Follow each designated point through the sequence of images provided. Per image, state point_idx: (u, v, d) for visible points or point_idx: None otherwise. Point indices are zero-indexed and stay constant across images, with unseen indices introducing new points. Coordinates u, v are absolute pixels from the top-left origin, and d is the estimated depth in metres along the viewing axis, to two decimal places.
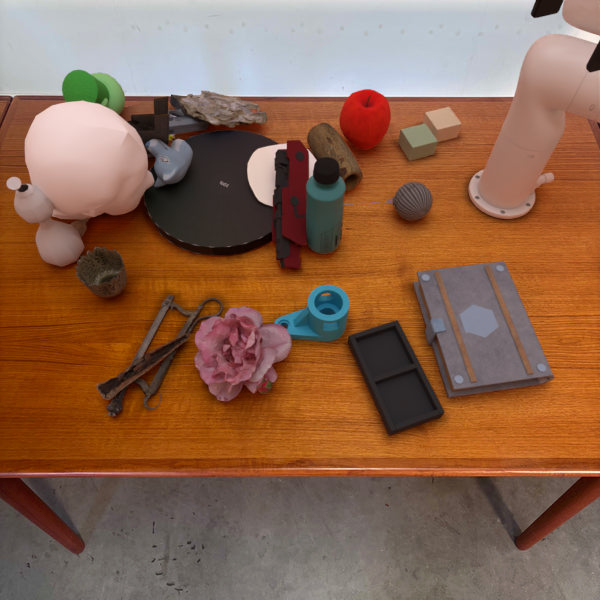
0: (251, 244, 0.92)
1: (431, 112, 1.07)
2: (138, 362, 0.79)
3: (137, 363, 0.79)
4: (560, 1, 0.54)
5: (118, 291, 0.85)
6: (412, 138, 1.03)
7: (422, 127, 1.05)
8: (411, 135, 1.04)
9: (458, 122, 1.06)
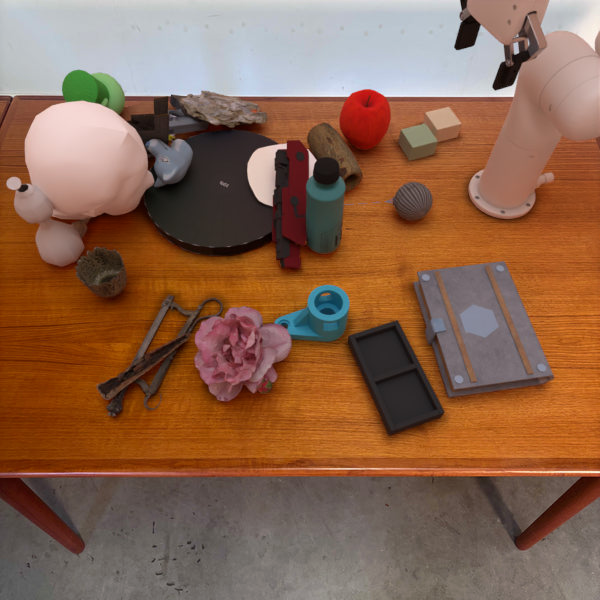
0: (251, 244, 0.92)
1: (431, 112, 1.07)
2: (138, 362, 0.79)
3: (137, 363, 0.79)
4: (474, 37, 0.74)
5: (118, 291, 0.85)
6: (412, 138, 1.03)
7: (422, 127, 1.05)
8: (411, 135, 1.04)
9: (458, 122, 1.06)
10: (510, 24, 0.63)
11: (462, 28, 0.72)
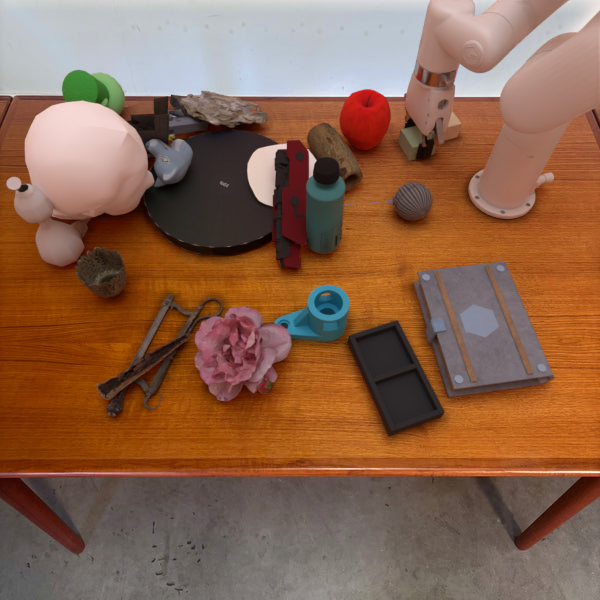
0: (251, 244, 0.92)
1: None
2: (138, 362, 0.79)
3: (137, 363, 0.79)
4: None
5: (118, 291, 0.85)
6: (412, 138, 1.03)
7: None
8: (411, 135, 1.04)
9: (458, 122, 1.06)
10: (426, 123, 0.96)
11: (406, 127, 1.05)
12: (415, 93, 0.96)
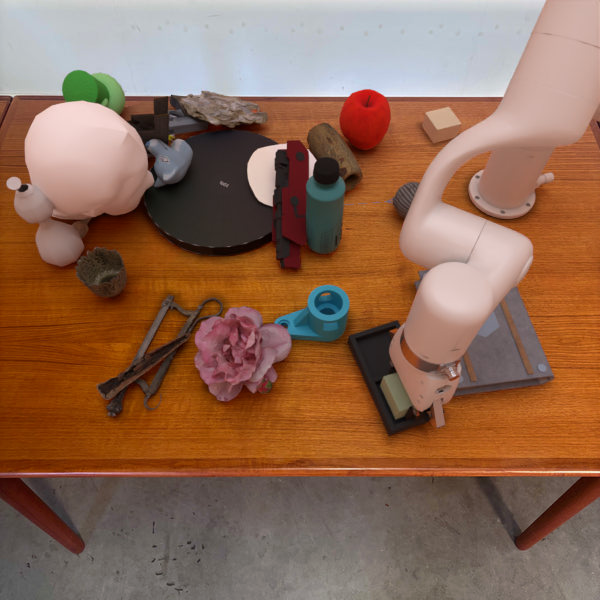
0: (251, 244, 0.92)
1: (431, 112, 1.07)
2: (138, 362, 0.79)
3: (137, 363, 0.79)
4: None
5: (118, 291, 0.85)
6: (399, 394, 0.73)
7: None
8: (397, 388, 0.74)
9: (458, 122, 1.06)
10: (419, 401, 0.66)
11: (391, 372, 0.75)
12: (403, 358, 0.66)
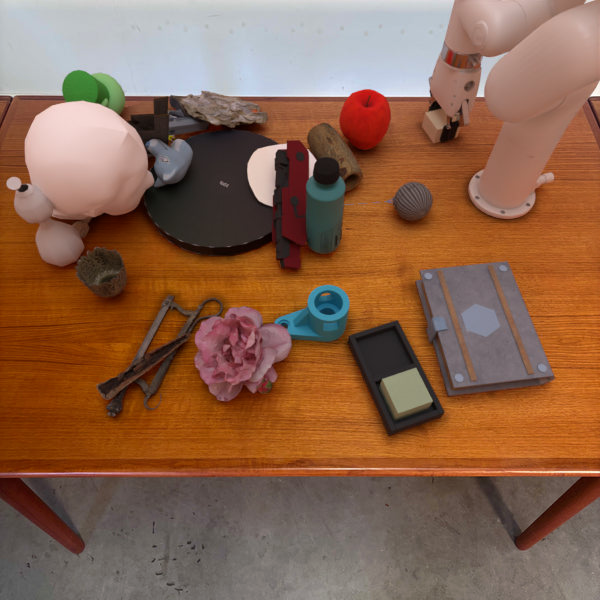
0: (251, 244, 0.92)
1: (431, 112, 1.07)
2: (138, 362, 0.79)
3: (137, 363, 0.79)
4: None
5: (118, 291, 0.85)
6: (398, 396, 0.75)
7: (412, 375, 0.76)
8: (396, 390, 0.75)
9: None
10: (452, 105, 0.99)
11: (430, 110, 1.08)
12: (441, 75, 0.98)
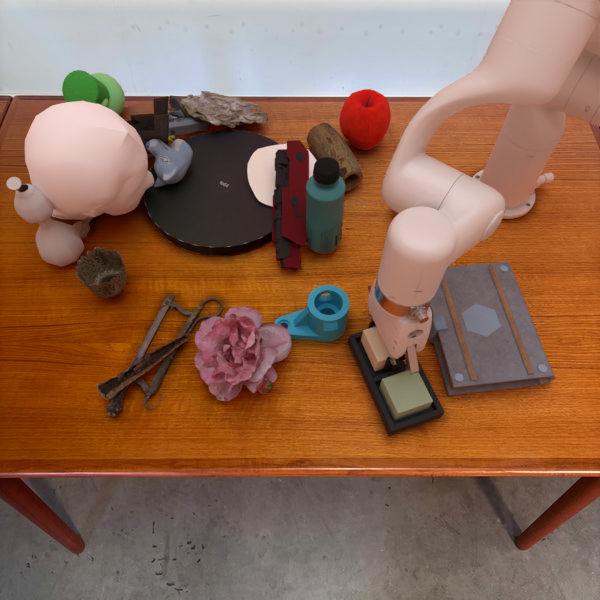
0: (251, 244, 0.92)
1: (371, 330, 0.79)
2: (138, 362, 0.79)
3: (137, 363, 0.79)
4: None
5: (118, 291, 0.85)
6: (398, 396, 0.75)
7: (412, 375, 0.76)
8: (396, 390, 0.75)
9: None
10: (394, 348, 0.70)
11: (371, 326, 0.79)
12: (378, 307, 0.69)
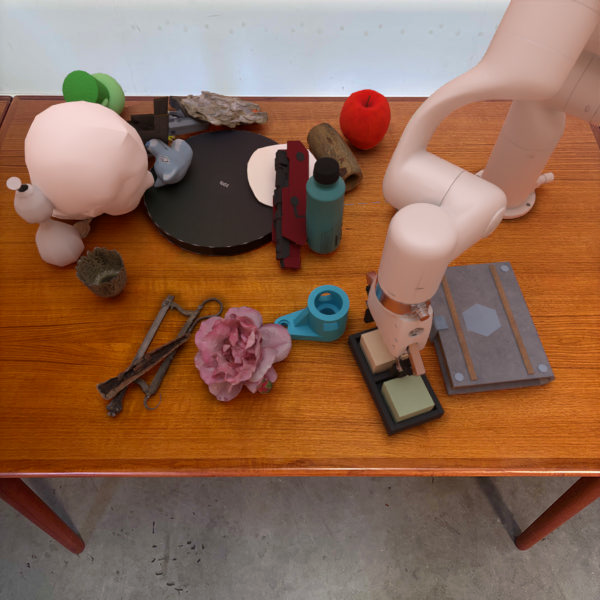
0: (251, 244, 0.92)
1: (370, 334, 0.80)
2: (138, 362, 0.79)
3: (137, 363, 0.79)
4: None
5: (118, 291, 0.85)
6: (399, 399, 0.74)
7: (413, 378, 0.76)
8: (397, 394, 0.75)
9: None
10: (395, 347, 0.69)
11: (367, 313, 0.78)
12: (379, 306, 0.69)
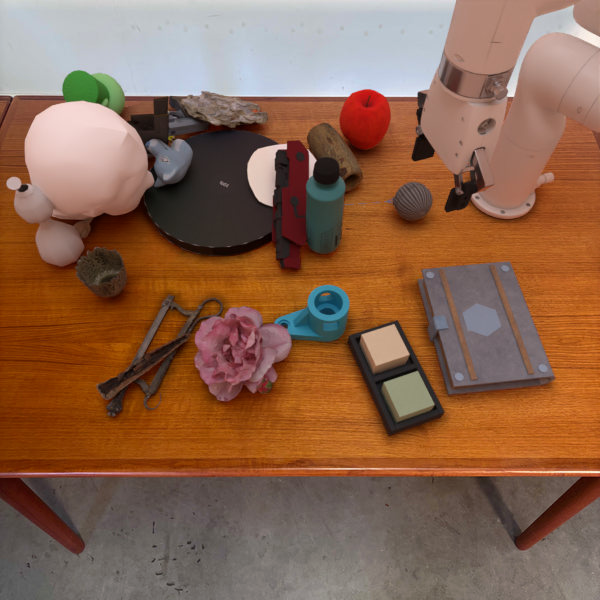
0: (251, 244, 0.92)
1: (370, 334, 0.80)
2: (138, 362, 0.79)
3: (137, 363, 0.79)
4: (432, 150, 0.71)
5: (118, 291, 0.85)
6: (399, 399, 0.74)
7: (413, 378, 0.76)
8: (397, 394, 0.75)
9: (405, 352, 0.78)
10: (457, 156, 0.59)
11: (417, 143, 0.69)
12: (439, 107, 0.59)
